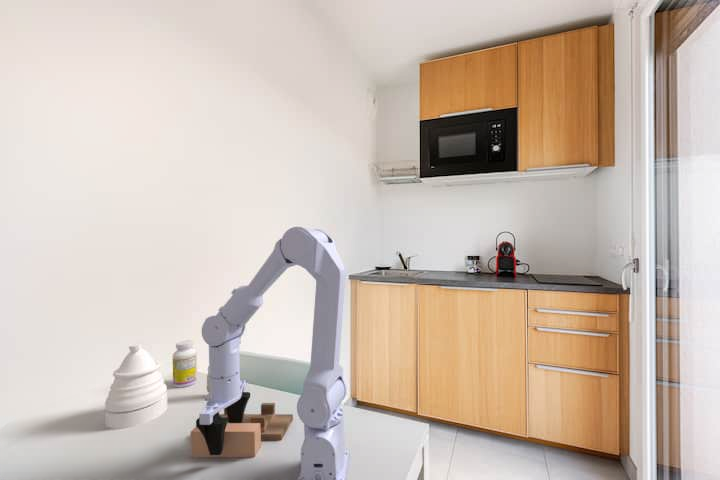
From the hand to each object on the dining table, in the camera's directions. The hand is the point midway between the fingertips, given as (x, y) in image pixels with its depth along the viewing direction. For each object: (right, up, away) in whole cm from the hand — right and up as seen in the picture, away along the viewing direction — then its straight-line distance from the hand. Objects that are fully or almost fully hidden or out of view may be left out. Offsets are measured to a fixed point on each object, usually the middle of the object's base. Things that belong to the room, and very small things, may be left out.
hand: (226, 441), depth 63 cm
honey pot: (-30, -4, +16) cm, 34 cm away
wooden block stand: (+1, -2, +8) cm, 8 cm away
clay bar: (0, -2, 0) cm, 2 cm away
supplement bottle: (-27, -5, +34) cm, 44 cm away
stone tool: (-13, -4, +25) cm, 28 cm away
